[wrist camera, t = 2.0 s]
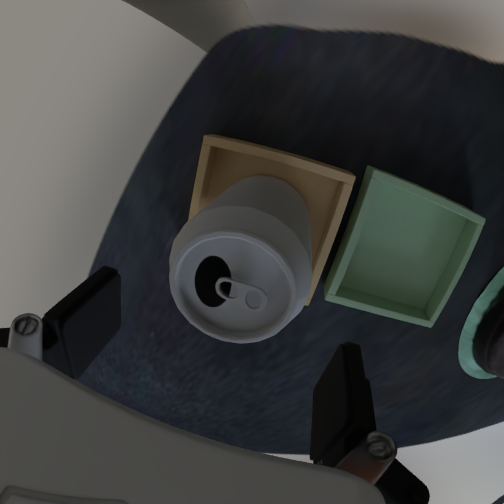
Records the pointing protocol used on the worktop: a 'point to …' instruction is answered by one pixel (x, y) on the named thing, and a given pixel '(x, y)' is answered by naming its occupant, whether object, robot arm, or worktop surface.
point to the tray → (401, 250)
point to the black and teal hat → (485, 333)
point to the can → (244, 261)
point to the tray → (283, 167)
